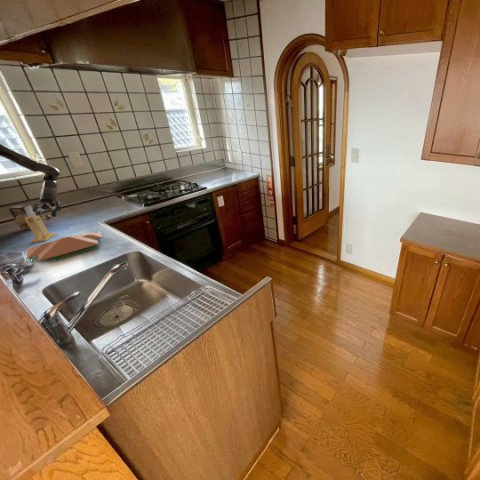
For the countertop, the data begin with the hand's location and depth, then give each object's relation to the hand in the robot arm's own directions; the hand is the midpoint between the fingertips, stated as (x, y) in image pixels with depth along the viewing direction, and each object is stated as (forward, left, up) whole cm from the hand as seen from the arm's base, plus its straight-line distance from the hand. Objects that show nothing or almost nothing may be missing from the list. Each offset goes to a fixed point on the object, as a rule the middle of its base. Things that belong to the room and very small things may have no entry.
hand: (45, 217), depth 171 cm
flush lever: (-2, -4, -1) cm, 5 cm away
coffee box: (-15, +19, -11) cm, 27 cm away
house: (+14, -40, -11) cm, 44 cm away
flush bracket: (-3, -9, -11) cm, 14 cm away
